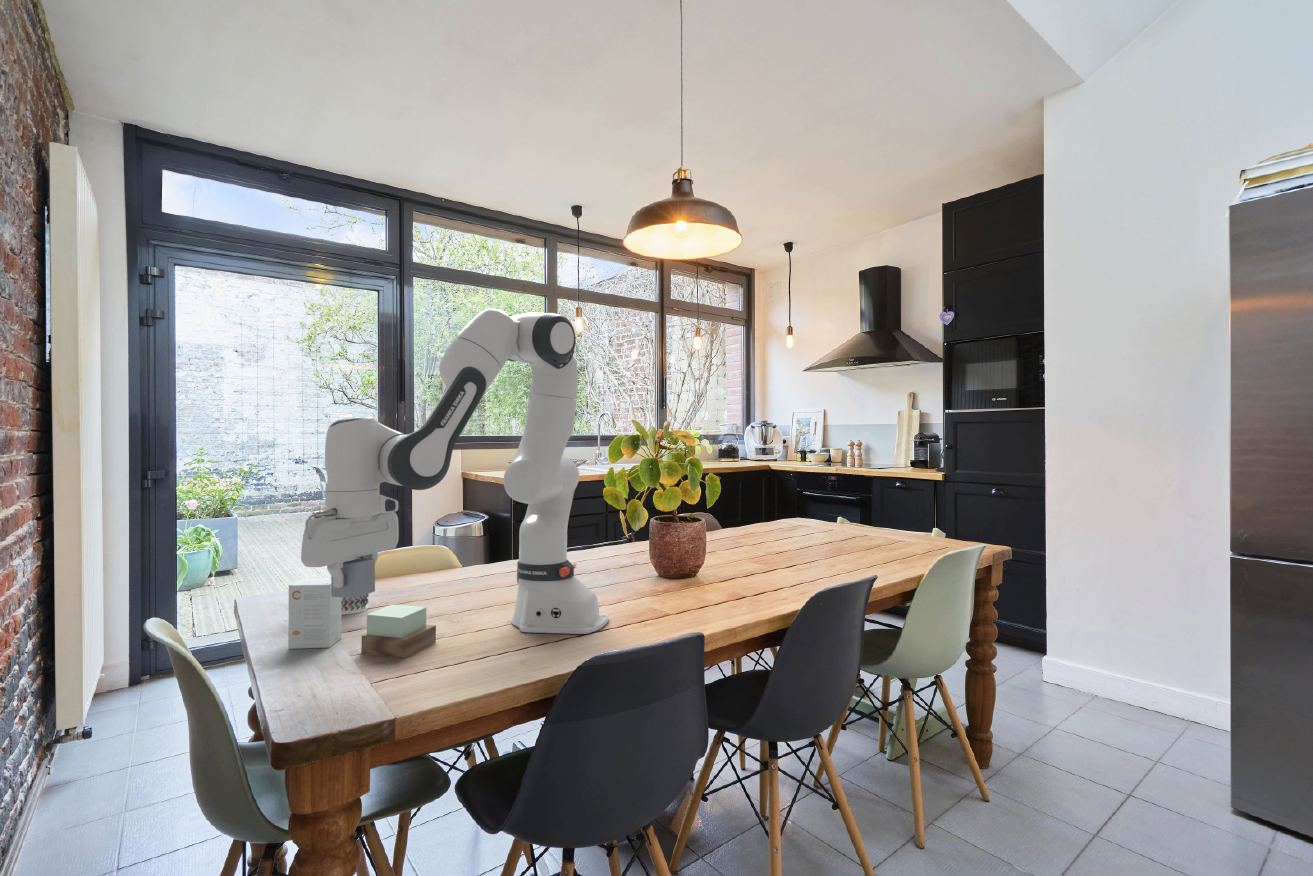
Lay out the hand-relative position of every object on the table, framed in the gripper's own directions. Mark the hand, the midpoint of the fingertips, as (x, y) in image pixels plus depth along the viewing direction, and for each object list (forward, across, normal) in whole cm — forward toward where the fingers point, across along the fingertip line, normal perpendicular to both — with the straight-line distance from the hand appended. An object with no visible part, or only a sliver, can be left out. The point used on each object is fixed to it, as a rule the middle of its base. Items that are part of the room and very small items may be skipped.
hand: (353, 582), depth 111 cm
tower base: (+17, +15, +2) cm, 23 cm away
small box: (+16, +12, +20) cm, 29 cm away
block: (+2, 0, 0) cm, 2 cm away
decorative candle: (+16, +35, +32) cm, 50 cm away
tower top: (+13, +15, +2) cm, 20 cm away
